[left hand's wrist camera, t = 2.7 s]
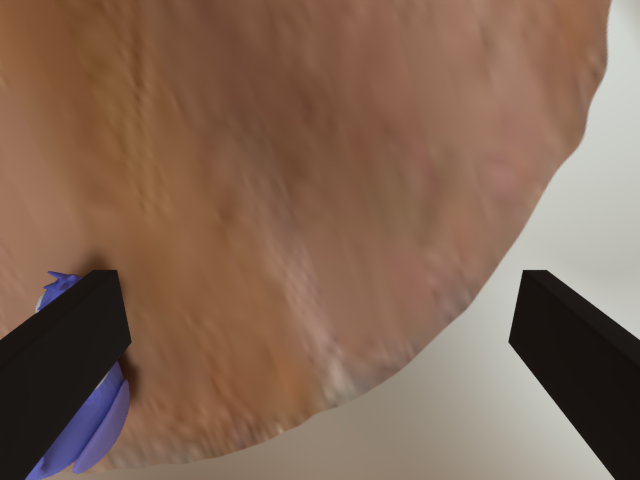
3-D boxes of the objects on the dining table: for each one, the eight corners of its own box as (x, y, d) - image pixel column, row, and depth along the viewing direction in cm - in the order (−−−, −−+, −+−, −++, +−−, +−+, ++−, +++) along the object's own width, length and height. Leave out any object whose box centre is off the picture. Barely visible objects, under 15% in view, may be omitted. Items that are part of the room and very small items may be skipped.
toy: (150, 391, 54) (140, 246, 41) (91, 532, 40) (47, 380, 26) (76, 383, 53) (41, 231, 39) (-12, 525, 38) (-111, 363, 25)
